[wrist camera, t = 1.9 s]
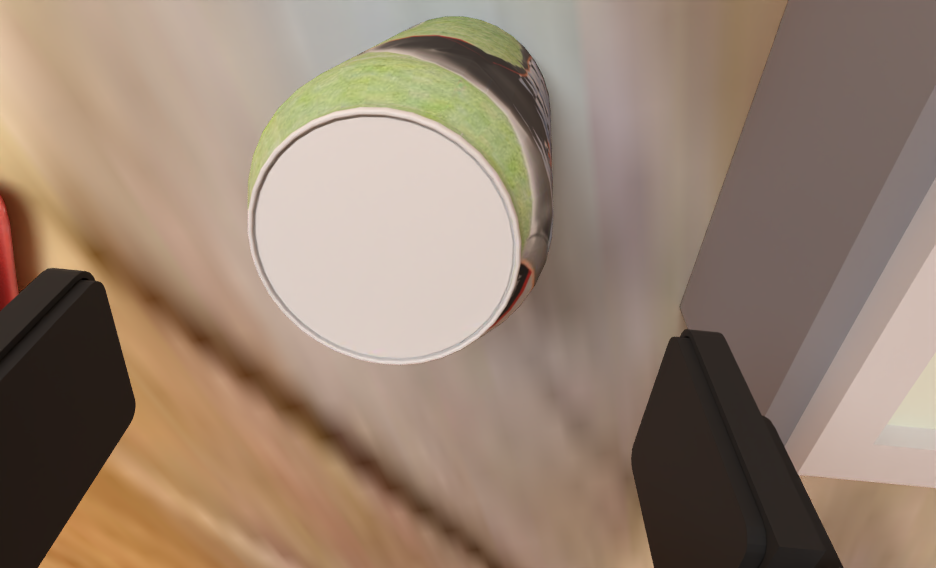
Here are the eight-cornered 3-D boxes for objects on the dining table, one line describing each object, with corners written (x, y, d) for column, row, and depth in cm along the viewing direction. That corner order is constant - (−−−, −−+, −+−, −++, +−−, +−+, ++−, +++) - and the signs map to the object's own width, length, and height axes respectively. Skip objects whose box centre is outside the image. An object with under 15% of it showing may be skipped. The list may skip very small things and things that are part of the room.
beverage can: (439, 213, 24) (396, 475, 14) (303, 47, 21) (126, 238, 11) (587, 122, 22) (657, 359, 12) (461, -81, 19) (416, 18, 9)
